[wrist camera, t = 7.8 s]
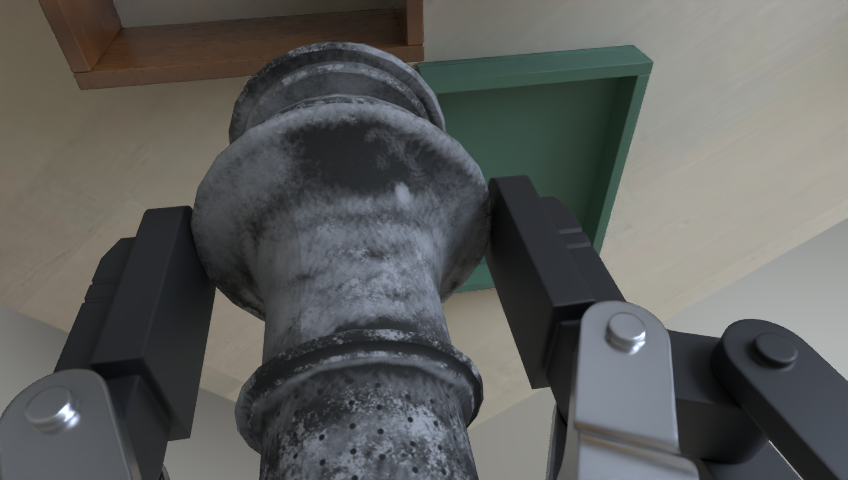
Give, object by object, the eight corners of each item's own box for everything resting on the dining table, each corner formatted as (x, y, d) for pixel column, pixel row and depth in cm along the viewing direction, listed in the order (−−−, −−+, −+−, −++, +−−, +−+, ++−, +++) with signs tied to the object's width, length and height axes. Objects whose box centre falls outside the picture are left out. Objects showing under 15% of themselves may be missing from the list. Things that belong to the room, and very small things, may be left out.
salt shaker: (315, 266, 16) (324, 911, 7) (157, 117, 12) (-282, 1127, 3) (492, 171, 14) (785, 810, 6) (379, -30, 11) (727, 965, 2)
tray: (416, 63, 31) (423, 82, 29) (633, 44, 33) (654, 61, 31) (421, 273, 43) (427, 297, 41) (581, 252, 44) (594, 274, 42)
